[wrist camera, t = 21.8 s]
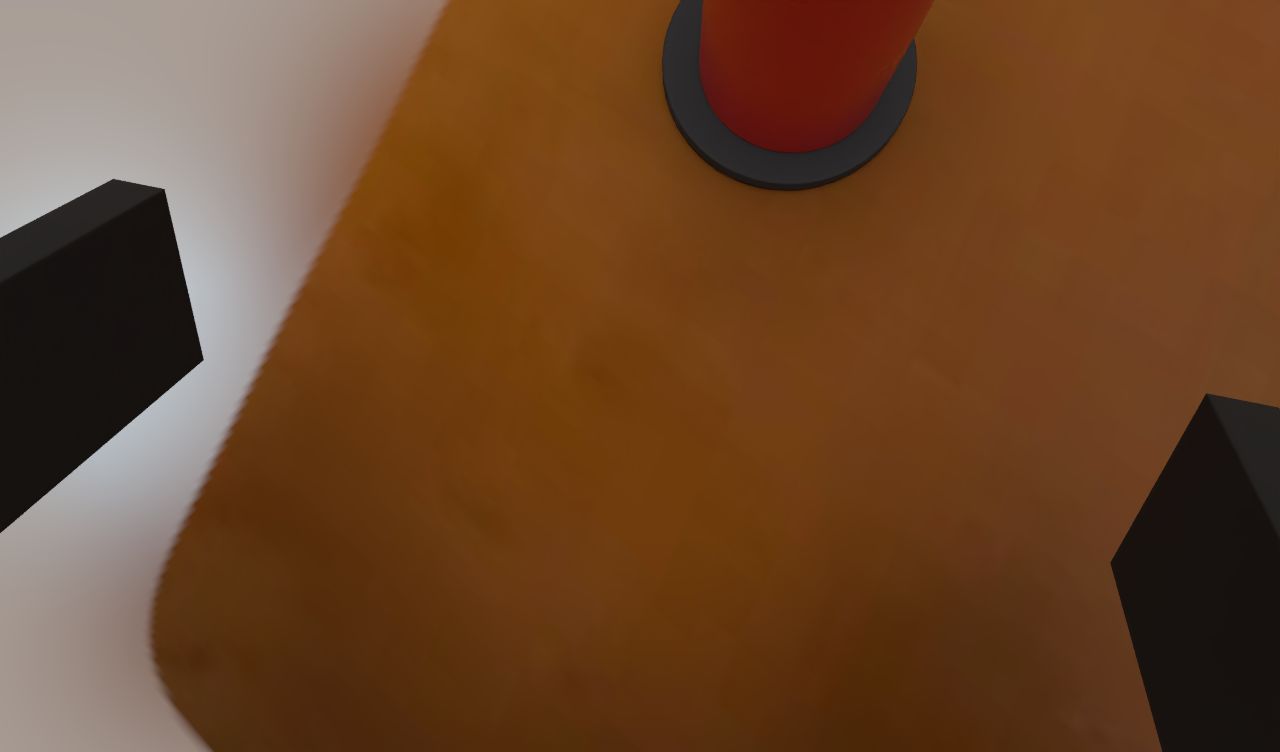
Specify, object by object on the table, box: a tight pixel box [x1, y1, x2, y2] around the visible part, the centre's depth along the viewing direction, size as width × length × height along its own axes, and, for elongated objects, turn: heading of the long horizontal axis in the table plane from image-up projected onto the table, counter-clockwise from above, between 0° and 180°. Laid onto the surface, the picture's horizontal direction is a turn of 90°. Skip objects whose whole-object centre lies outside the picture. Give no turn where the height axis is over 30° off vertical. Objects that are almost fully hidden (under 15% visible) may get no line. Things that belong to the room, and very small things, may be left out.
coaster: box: [662, 0, 917, 190], centre depth 21 cm, size 6×6×1 cm
